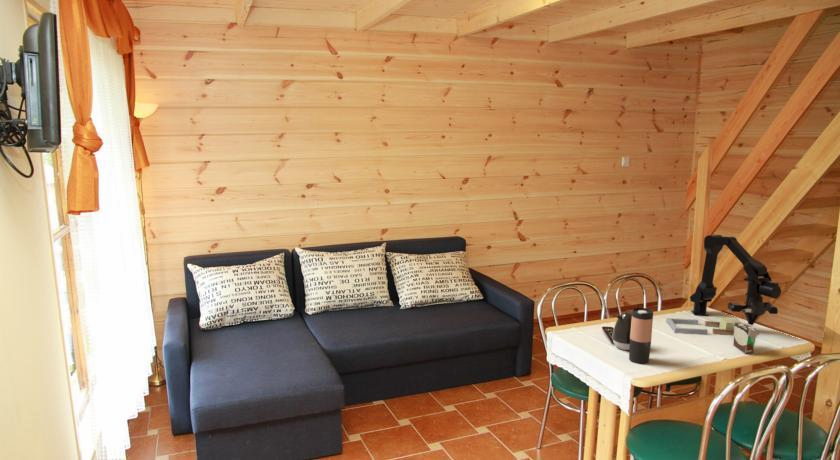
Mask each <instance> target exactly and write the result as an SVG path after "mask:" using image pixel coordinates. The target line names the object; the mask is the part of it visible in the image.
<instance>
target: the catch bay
mask: <svg viewBox="0 0 840 460" xmlns="http://www.w3.org/2000/svg"><path fill="white" fill-rule="evenodd" d="M665 323H666V324H667V325H668V326H669V327H670V329H671V330H672V331H673V332H674V333H675V334H689V335H690V334H691V335H703V336H704V335H707V336H708V335H709V334H708V331H709V330H708V328H696V327H695V328H693V327H691V328H690V327H678V326H677V324H678V325H679V324H680V325H692V326H693V325H694V326H698V325H699V320H698V319H695V318H694V319H691V318H676V317H675V318H674V317H666V319H665Z"/></svg>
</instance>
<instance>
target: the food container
mask: <svg viewBox="0 0 840 460" xmlns="http://www.w3.org/2000/svg"><path fill="white" fill-rule="evenodd" d="M741 322H742V321H741ZM741 322H734V325H733V326H734V335H733V340H732V341H733V343H732V347H734V348H736V349H737V350H738V351H740V352H741V353H743V354H744V355H751V354H753V353H754V348H755V343H756V338H757V336H759V329H758V328H757V326H755V325H754V324H753V325H750V324H748V322H747V323H746V322H742V323H741Z"/></svg>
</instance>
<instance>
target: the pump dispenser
mask: <svg viewBox="0 0 840 460" xmlns="http://www.w3.org/2000/svg"><path fill="white" fill-rule="evenodd" d="M615 317H616V318H617V319H616V321H615V324H614V327H613V330H612V335H611V339H612V341H613V344H614V346H615V347H617V348H618V349H620V350H623V351H629V348H630V332H631V320H632V312H629V311H623V312H622V313H621V314H620V315H619V314H616V316H615Z"/></svg>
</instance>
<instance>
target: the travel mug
mask: <svg viewBox="0 0 840 460" xmlns="http://www.w3.org/2000/svg"><path fill="white" fill-rule="evenodd" d="M631 313H632V320H631V332H630V348H629V350H628V351H629V353H628V358H629V359H628V360H629V361H630V362H631V363H634V364H637V365H646V364H648V363H649V361H650V355H651V345H652V337H653V335H652V334H653V322H654V320H653V319H654V311H653V310H652V309H649V308H647V307H634V308H632V310H631Z"/></svg>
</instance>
